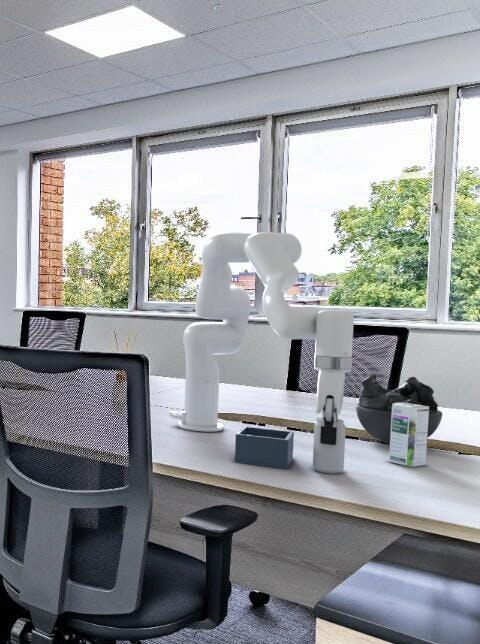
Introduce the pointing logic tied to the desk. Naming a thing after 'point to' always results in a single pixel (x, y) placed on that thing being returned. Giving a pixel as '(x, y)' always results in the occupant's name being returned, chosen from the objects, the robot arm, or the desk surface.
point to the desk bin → (264, 447)
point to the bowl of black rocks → (379, 400)
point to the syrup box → (408, 434)
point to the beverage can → (329, 450)
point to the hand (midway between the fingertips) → (329, 440)
